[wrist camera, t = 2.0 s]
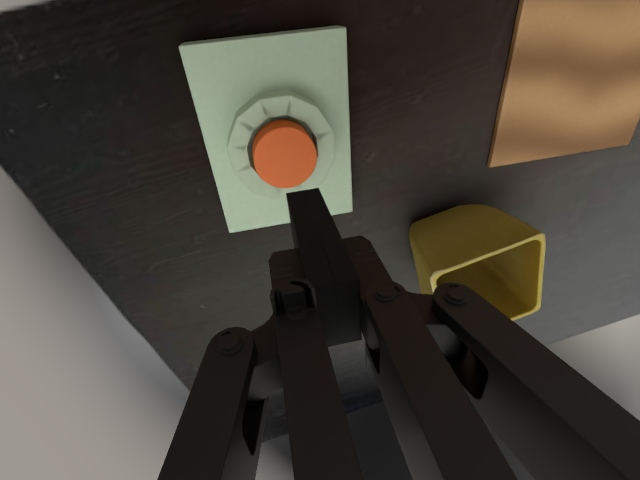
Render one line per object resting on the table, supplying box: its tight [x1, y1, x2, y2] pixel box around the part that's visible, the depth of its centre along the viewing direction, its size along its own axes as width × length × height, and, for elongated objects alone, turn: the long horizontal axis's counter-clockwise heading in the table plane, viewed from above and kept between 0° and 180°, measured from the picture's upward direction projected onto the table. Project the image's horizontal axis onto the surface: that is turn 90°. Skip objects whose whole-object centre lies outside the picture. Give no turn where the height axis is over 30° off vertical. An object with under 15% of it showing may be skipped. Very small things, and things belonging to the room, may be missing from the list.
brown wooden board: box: [487, 0, 640, 168], centre depth 28 cm, size 15×14×1 cm
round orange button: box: [252, 119, 317, 188], centre depth 23 cm, size 4×4×2 cm
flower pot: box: [409, 204, 546, 321], centre depth 31 cm, size 9×9×9 cm
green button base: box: [179, 25, 353, 233], centre depth 25 cm, size 13×10×4 cm
